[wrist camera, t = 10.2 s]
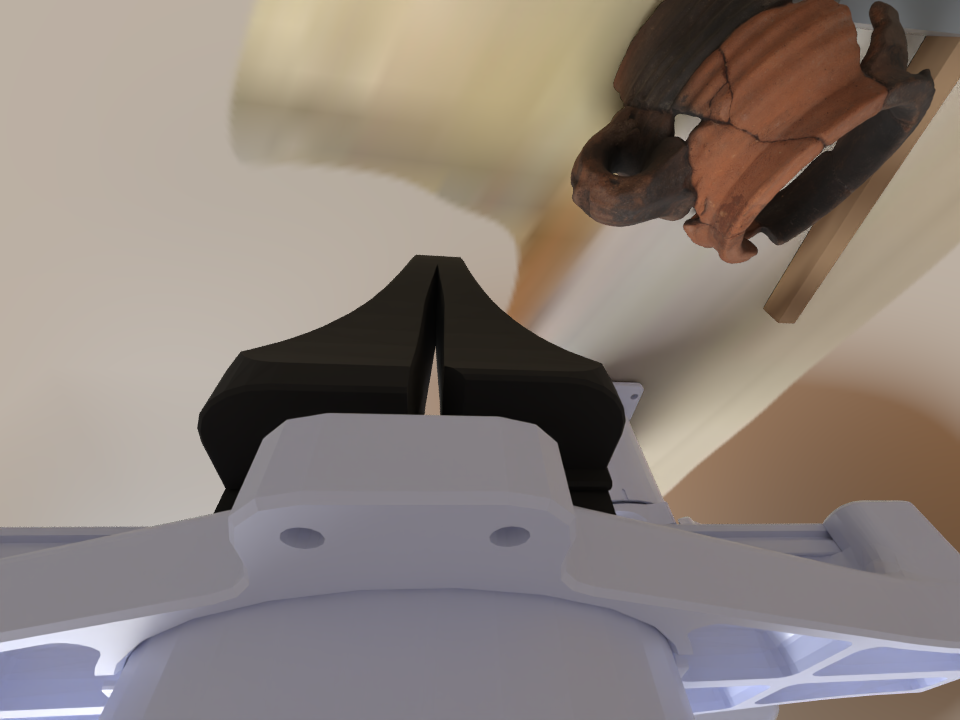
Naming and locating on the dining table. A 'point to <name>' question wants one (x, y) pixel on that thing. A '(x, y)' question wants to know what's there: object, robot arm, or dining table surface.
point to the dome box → (912, 15)
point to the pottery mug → (750, 119)
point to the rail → (860, 193)
